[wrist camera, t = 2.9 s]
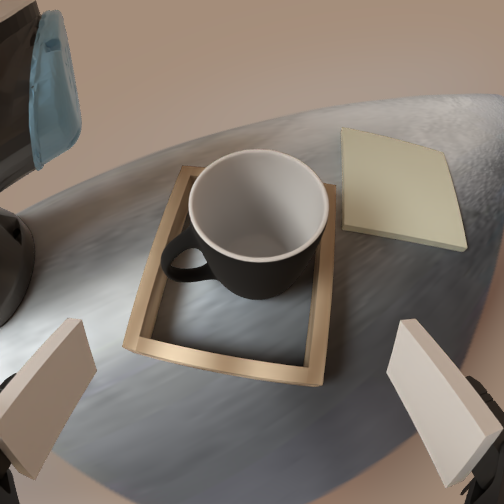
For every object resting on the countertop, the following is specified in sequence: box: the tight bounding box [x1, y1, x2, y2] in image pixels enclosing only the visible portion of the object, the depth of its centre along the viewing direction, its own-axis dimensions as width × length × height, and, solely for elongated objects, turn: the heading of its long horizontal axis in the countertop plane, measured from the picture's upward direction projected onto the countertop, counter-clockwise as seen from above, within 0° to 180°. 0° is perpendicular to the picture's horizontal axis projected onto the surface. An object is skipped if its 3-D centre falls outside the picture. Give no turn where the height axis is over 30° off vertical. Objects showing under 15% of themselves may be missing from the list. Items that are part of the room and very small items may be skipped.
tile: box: [340, 127, 467, 252], centre depth 32 cm, size 15×15×1 cm
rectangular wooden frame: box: [122, 166, 336, 387], centre depth 27 cm, size 15×18×3 cm
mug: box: [161, 149, 329, 300], centre depth 23 cm, size 12×9×10 cm
